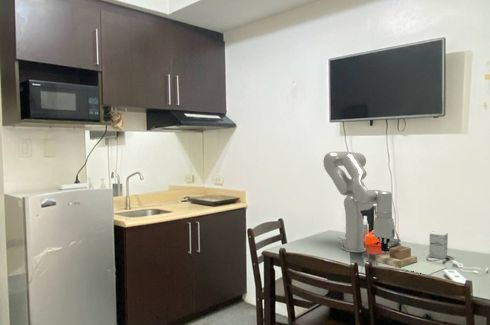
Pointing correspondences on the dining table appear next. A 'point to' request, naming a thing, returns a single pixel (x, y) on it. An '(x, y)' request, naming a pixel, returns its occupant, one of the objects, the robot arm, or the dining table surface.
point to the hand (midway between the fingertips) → (384, 250)
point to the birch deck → (395, 260)
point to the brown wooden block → (400, 252)
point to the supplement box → (438, 245)
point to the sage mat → (423, 268)
